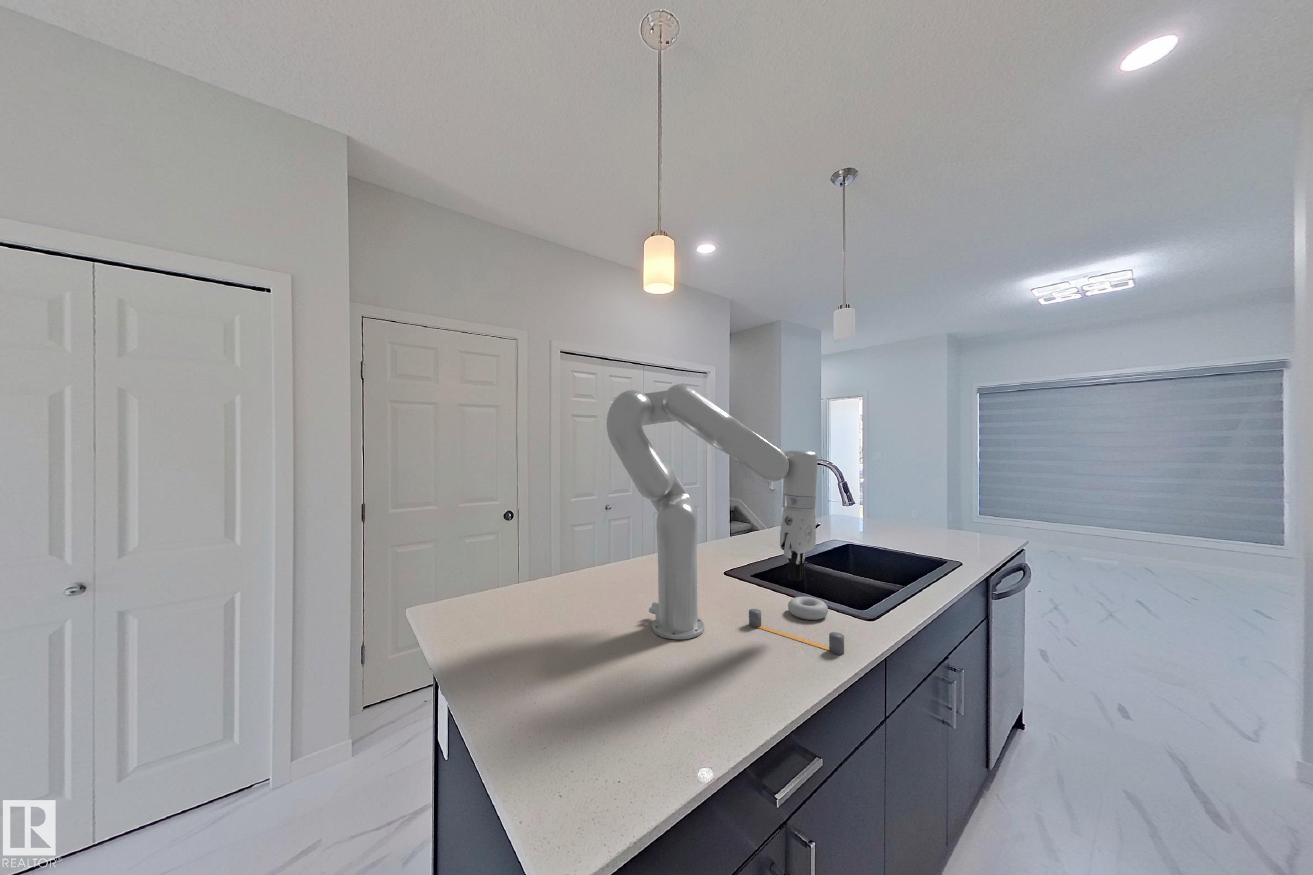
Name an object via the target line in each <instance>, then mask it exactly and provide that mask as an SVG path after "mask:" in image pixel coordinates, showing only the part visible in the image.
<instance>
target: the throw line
mask: <svg viewBox="0 0 1313 875" xmlns="http://www.w3.org/2000/svg"><path fill="white" fill-rule="evenodd" d="M748 626H749V627H750V628H752V629H760V630H764V631H767V632H770V633H773V634H775V635H779V636H781V637H785V638H788V639H792V640H794V641H798V642H800V643H804V644H807V645H811V646H813V647H816V648H819V649H822V650H825V651H829V653H832V654H833V655H836V656H841V655H842V656H843V655H844V654H845V636H844V634H843V633H841V632H837V631H836V632H835V631H832V632H829V633H828V637H829V638H828V643H829V644H828V645H824V644H822V643H818V642H816V641H812V640H809V639H806V638H803V637H800V636H797V635H793V634H790V633H787V632H783V631H782V630H781V631H780V630H777V629H774V628H770V627H768V626H765V625H762V610H760V609H758V608H751V609H748Z"/></svg>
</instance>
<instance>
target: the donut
mask: <svg viewBox="0 0 1313 875" xmlns="http://www.w3.org/2000/svg"><path fill="white" fill-rule="evenodd" d="M787 609H788V611H789V612H790V614H792V615H793V616H795V617H797V618H799V619H803V620H807V621H808V620H809V621H816V620H817V621H818V620H822V619H824V618H826V617H827V615H828V614H829V608H828V605H827V604H826V603H825V602H824V601H823V600H821V599H820V598H819V599H818V598H815V597H812V596H795V597H793V598H791V599H790V600H789V601H788V602H787Z"/></svg>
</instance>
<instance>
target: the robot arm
mask: <svg viewBox="0 0 1313 875" xmlns="http://www.w3.org/2000/svg"><path fill="white" fill-rule="evenodd" d="M671 422H677V423H679V424H681V425H682V426H683V427H685V428H686V429H688V430H690V432H692V433H694V434H695V435H696V436H697V437H699V438H700V439H702V440H703V441H705V442H706V443H707V444H709V445H711V447H714V448H715V449H717V450H718V451H722V452H723V453H725V454H726V455H728V456H730V457H731V458H732V459H734V460H736V461H737V462H739V463H740V464H741V465H743V466H744V467H746V468H747V469H748V470H750V471H751V472H753V473H754V474H755V475H756V476H757V477H759V478H761V479H762V480H764V481H767V482H771V483H773V482H778V481H781V480H783V482H782V499H781V500H782V501H781V502H782V504H781V507H782V508H783V509H782V514H781V522H780V532H779V547H780V549H781V550H782V551H783V557H784V558H786V562H787V574H786V578H787V579H789V580H792V581H796V582H801V581H802V580H803V579H804V563H805V559H806V553H807V552H808V551H811V550H813V549H814V548H816V543H817V542H816V540H817V539H816V535H817V534H816V533H817V532H816V531H817V530H816V527H817V525H816V524H817V522H816V521H817V520H816V512H815V511H816V501H817V500H816V498H817V480H818V479H817V478H818V462H819V461H818V460H819V457H818V454H817V453H816V452H814V451H811V450H799V449H798V450H797V449H794V450H781V449H779V448H778V447H776V446H775V445H773V444H772V443H770V442H769V441H768V440H766V439H765V438H763V437H762V436H761V435H759V434H758V433H756V432H755V431H753V430H751V429H750V428H748V427H747V426H746V425H745V424H743V423H742V422H740V421H739V420H738V419H736V418H735V417H733V416H732V415H730V414H729V413H728V412H726V411H725V410H723V409H721V407H719V406H717V405H716V404H715V403H713V402H712V401H710V400H709V399H708V398H706V397H704V396H703V395H701V393H699V392H697V391H696V390H695V389H694V388H691V387H690V386H688V385H685V384H682V383H679V384H678V383H676V384H674V385H672V386H670V387H669V388H667V390H661V391H654V392H653V391H652V392H645V393H642V392H641V391H638V390H635V389H630V390H625V391H623V392H621V393H619V394H618V395H617V397H616V398H615V399H614V400H613V402H612V403H611V405H610V407H609V409H608V412H607V417H606V431H607V432H606V433H607V436H608V439H609V441H610V444H611V445H612V447H613V450H614V451H615V453H616V455H617V456H618V458H619V460H620V462H621V463H622V465H623V467H624V469H625V470H626V472H627V473H628V475H629V478H630V479H631V480H632V482H633V484H634V486H635V487H636V489H637V491H638V493H639V494H640V496H643V498H645V499H648V500H650V503H652V506H653V507H654V508H655V510H656V512H657V516H656V526H655V527H656V540H657V541H656V542H657V577H658V578H657V579H658V580H657V588H658V589H657V590H658V592H657V593H658V598H657V599H658V600H657V601H658V602H656V601H653V602H652V604H651V607H649V608H648V612H649V613H650V614H652V615H655V619H654V620H653V622H652V626H651V627H652V628H651V629H652V631H653V632H654V633H655V634H656V635H658V636H659V637H661V638H665V639H669V640H688V639H693V638H696V637H699V636H700V635H701V634H703V632H704V631H705V622H704V621H703V620H702V619H701V618H699V615H698V614H699V613H698V610H699V609H698V607H699V606H698V550H697V549H698V546H697V545H698V544H697V541H698V536H697V535H698V515H697V509H696V505H695V503H694V501H693V499H692V498H691V497H690V494H689V493H688V491H687V490H686V489H685V487H684V485H683V483H682V481H681V480H680V479H679V477H678V475H677V474H676V472H675V471H674V469H673V467H672V466H671V465H670V464H669V463H667V462H666V461H664V460H663V459H661V458H660V456H659V455H658V453H657V451H656V450H655V448H654V446H653V445H652V443H651V441H650V439H648V437H647V435H646V433H645V432H644V428H643V426H647V425H648V426H649V425H657V424H664V423H671Z"/></svg>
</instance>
